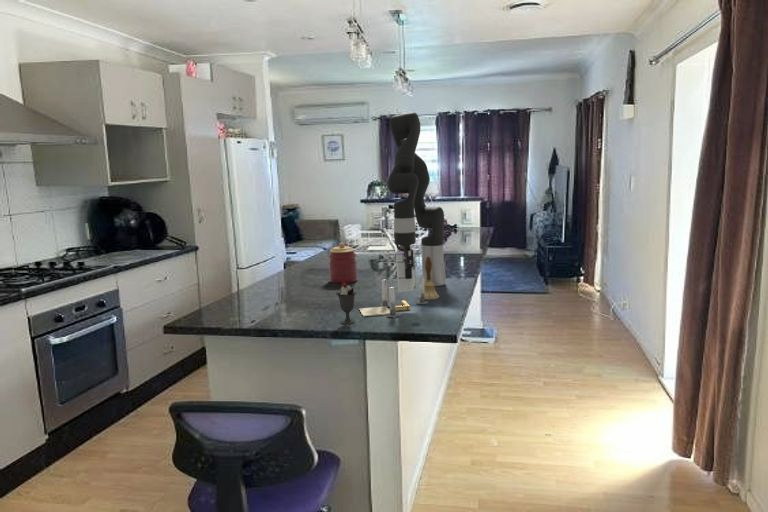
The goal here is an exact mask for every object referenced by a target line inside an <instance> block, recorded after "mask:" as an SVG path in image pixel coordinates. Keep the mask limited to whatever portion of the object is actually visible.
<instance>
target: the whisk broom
mask: <svg viewBox="0 0 768 512" xmlns="http://www.w3.org/2000/svg"><path fill="white" fill-rule="evenodd" d="M431 268H432V263H431V259H430V257H427V258H426V261H425V269H426V273H427V276H426V282H425V283H424V291H425V301H429V300H430V301H431V300H437V299H440V295H439V293H437V291H436V286H434V283H432V282H431V274H430V273H431ZM417 298H418V299H419V295H418V296H417Z"/></svg>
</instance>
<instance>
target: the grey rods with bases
mask: <svg viewBox="0 0 768 512" xmlns="http://www.w3.org/2000/svg"><path fill="white" fill-rule="evenodd" d="M418 294H419V295H418V296H419V298H418V300H417V301H416V302H415V303H416V305H417V304H418V306H425V305H428V304H429V300H425V291H424V277H422V276H419V277H418ZM388 295H389V296H388ZM388 297H389V299H388ZM381 301H382V303H380V304H379V305H378V307H384V306H385V307H390V308H389V310H390V313H388V314H387V315H386V317H387V316H388V317H397V318H399V317H400V313H397V312H400V311H399V310H403V311H410V310H411V305H409V303H408V302H407V301H406V300H401V305H396V287H395V286H391V287H390V286H389V287H388V279H381ZM388 301H389V302H388ZM402 305H403V306H402ZM388 317H387V318H388Z"/></svg>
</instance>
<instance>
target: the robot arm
mask: <svg viewBox="0 0 768 512" xmlns="http://www.w3.org/2000/svg"><path fill="white" fill-rule="evenodd" d="M420 121H421V120H420V117H419V115H418V114H417V113H416V112H415V111H412V112H411V111H410V112H405V113H401V114H396V115H392V116H391V117H390V118H389V128H390V132H391V136H392V137H393V140H394V143H395V146H396V148H397V150H396V152H395V156H394V166H393V169H392V171H391V173H390V174H389V176H388V180H387V188H388V190H389V192H390V193H391V194H394V195H401V194H407V197H406V198H404V199H402V200H397V201H395V202H394V203H393V214H394V215H393V217H394V218H393V219H394V220H393V234H394V236H393V238H394V240H393V241H394V244H395V245H396V246H397V251H404V255H403V254H402V262H403V263H404V265H405V278H406V279H411V278H412V267H413V266H414V265H413V250H412V249H413V248H411V245H415V244H416V243H417V242H416V241H417V240H416V237H417V234H416V233H417V232H416V223H417V225H418V226H419V228H421V229H427V230H428V229H429V230H430V229H431V230H432V231H431V232H432V233H430V234H429V235H426V236H424V237H422V238H421V240H420V241H421V274H422V275H421V277H424V283H425V282H426V276H427V273H426V269H425V261H426V258H427V257H430V259H431V263H432V268H431V273H430V274H431V282H432V283H434V286H435V287H441V286H444V285H446V262H444V239H445V229H444V228H445V211H444V209H443V208H442V207H440V206H426V203H425V194H426V192H427V189H428V187H429V185H430V178H431V177H430V173H429V171H428V167H427V164H426V161H424V160H423V159H422V157H420V155H418V154H417V153H416V151H417V147H418V143H419V138H420V135H421V122H420ZM415 219H416V220H415ZM415 221H416V222H415ZM404 257H406V259H404ZM408 262H410V264H408Z"/></svg>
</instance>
